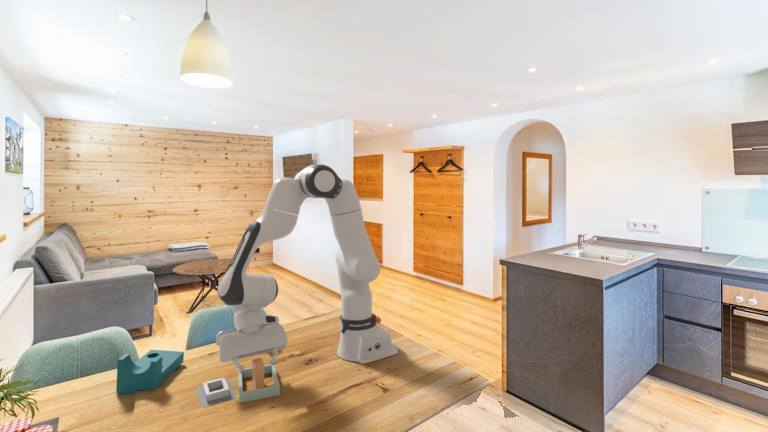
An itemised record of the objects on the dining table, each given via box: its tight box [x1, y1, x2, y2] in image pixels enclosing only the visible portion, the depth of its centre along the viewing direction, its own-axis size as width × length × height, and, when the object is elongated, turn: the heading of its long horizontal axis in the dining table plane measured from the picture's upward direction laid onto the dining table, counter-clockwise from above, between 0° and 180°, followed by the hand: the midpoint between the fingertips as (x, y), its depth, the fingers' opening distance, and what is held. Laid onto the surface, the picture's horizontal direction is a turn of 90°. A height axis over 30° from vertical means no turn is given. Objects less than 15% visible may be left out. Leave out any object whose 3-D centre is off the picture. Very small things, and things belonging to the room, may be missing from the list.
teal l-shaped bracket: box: [115, 349, 185, 395], centre depth 120 cm, size 18×11×10 cm, turn 3°
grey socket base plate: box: [196, 377, 237, 409], centre depth 111 cm, size 9×12×3 cm
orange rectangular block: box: [251, 357, 265, 390], centre depth 115 cm, size 2×4×8 cm, turn 32°
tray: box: [237, 363, 281, 404], centre depth 115 cm, size 11×15×4 cm
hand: (258, 368), depth 114 cm, fingers open, 8 cm apart
